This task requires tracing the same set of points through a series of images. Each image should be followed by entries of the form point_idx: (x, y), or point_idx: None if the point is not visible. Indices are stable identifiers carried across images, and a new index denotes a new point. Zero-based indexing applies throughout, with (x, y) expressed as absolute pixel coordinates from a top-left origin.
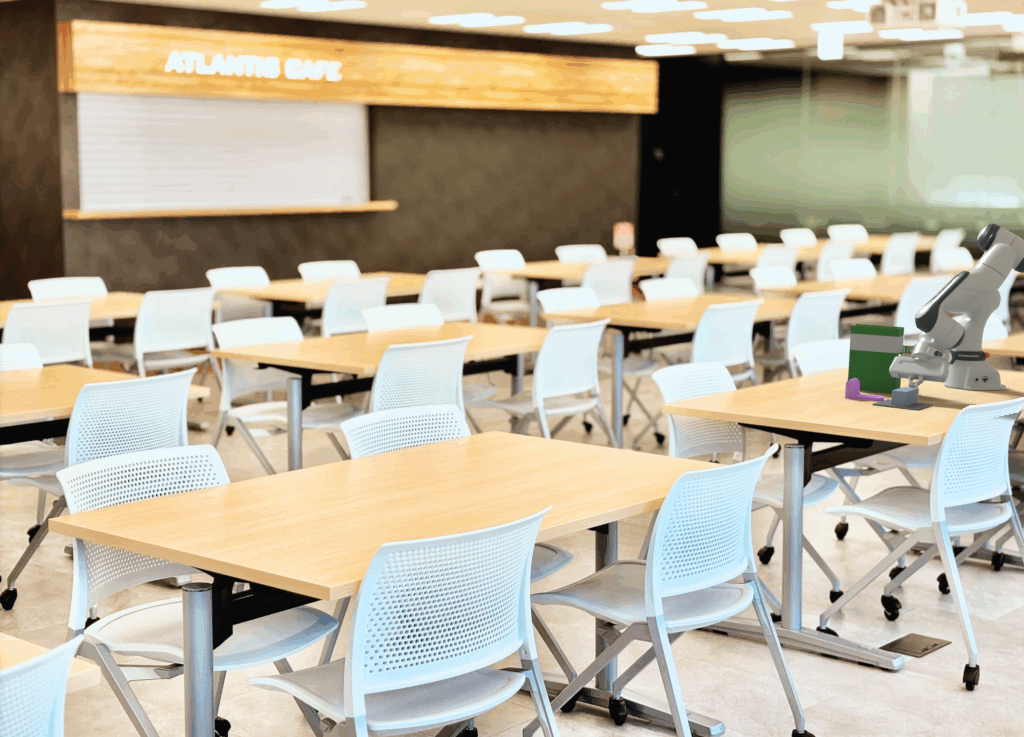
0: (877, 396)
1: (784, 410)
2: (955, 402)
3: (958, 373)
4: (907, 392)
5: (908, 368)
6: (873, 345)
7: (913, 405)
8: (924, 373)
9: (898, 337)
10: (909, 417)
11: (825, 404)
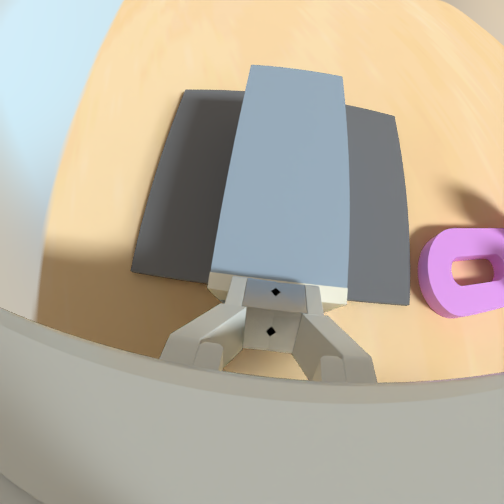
0: (459, 285)
1: (445, 14)
2: None
3: None
4: (248, 83)
5: (439, 454)
6: None
7: (221, 166)
8: (114, 363)
9: None
10: (198, 9)
11: (471, 83)
